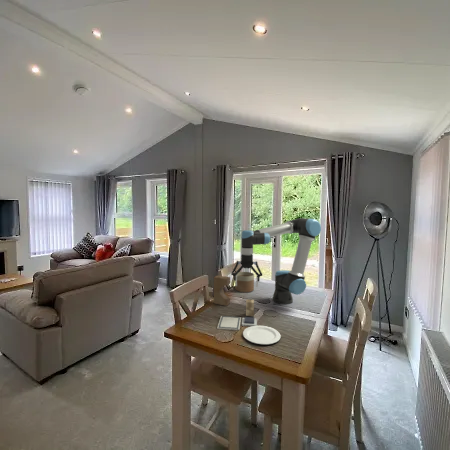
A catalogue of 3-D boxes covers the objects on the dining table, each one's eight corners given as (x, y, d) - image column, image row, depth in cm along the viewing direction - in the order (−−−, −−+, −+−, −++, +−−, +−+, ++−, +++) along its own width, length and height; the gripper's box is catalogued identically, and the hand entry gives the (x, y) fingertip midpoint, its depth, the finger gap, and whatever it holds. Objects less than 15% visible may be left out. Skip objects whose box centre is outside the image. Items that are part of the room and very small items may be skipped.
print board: (241, 318, 168) (241, 316, 168) (239, 330, 152) (239, 328, 152) (220, 317, 170) (220, 315, 170) (217, 328, 154) (217, 327, 154)
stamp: (253, 314, 175) (254, 299, 174) (253, 317, 170) (253, 302, 169) (246, 313, 175) (246, 299, 174) (245, 317, 170) (246, 302, 169)
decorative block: (230, 303, 193) (230, 277, 191) (226, 306, 188) (227, 279, 186) (217, 301, 198) (217, 275, 196) (213, 303, 193) (213, 276, 191)
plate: (254, 350, 132) (254, 347, 132) (236, 331, 151) (236, 328, 151) (288, 342, 140) (288, 339, 140) (267, 325, 160) (267, 322, 159)
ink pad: (256, 320, 166) (256, 316, 166) (256, 326, 157) (256, 323, 157) (242, 319, 167) (242, 315, 167) (241, 325, 158) (241, 322, 158)
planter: (248, 294, 214) (248, 277, 212) (231, 290, 222) (231, 274, 221) (256, 289, 227) (257, 273, 226) (240, 285, 235) (241, 270, 234)
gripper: (266, 253, 174) (265, 284, 176) (228, 252, 176) (228, 283, 178) (266, 255, 166) (266, 288, 168) (227, 254, 169) (227, 286, 170)
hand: (246, 285), depth 173 cm, fingers open, 13 cm apart
